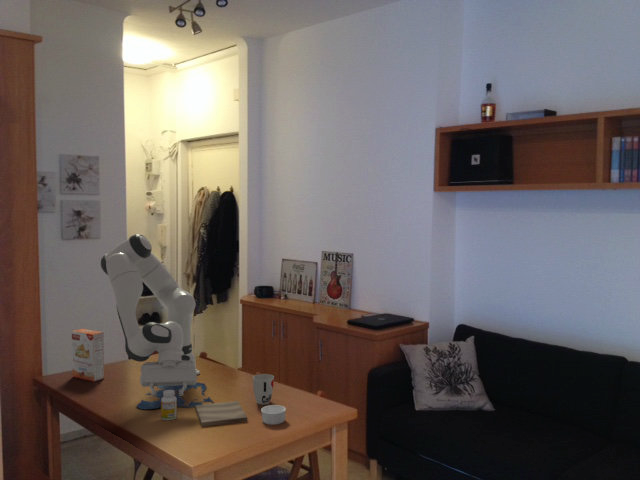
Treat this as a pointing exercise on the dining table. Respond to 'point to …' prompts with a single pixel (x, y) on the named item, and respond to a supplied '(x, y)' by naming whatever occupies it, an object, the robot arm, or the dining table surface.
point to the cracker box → (88, 354)
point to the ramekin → (273, 414)
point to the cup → (263, 388)
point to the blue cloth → (180, 401)
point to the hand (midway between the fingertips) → (167, 395)
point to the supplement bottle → (168, 405)
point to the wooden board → (220, 413)
